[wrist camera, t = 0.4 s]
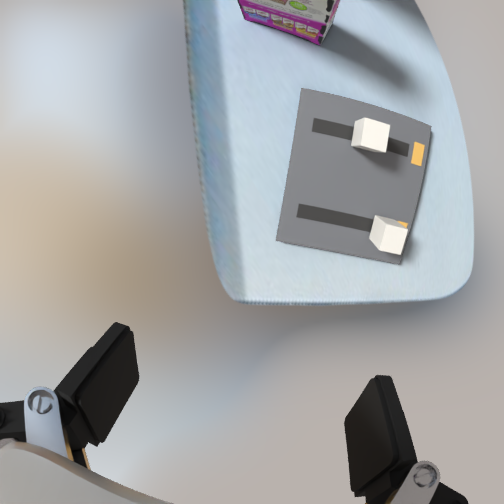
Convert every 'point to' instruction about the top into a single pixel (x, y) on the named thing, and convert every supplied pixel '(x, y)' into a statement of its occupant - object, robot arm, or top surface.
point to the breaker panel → (349, 176)
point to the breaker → (388, 234)
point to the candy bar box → (293, 16)
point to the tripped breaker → (370, 135)
